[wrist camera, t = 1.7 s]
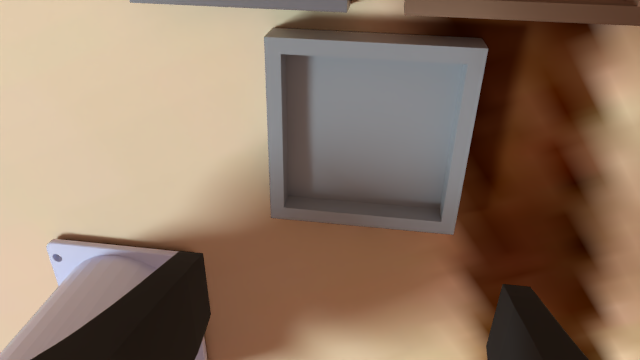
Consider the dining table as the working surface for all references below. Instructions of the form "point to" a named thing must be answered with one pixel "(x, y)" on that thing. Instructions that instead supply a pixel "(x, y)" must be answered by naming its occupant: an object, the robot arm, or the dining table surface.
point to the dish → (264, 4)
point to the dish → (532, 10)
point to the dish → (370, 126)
